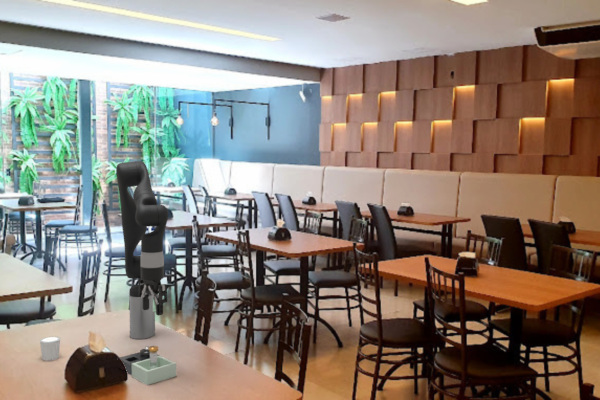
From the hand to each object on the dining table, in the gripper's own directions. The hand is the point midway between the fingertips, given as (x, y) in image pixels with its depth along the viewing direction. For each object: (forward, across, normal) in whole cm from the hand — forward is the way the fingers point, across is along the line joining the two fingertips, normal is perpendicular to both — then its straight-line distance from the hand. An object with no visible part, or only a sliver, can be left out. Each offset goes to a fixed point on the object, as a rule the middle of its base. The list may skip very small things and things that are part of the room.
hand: (152, 312), depth 192 cm
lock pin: (+21, -1, 0) cm, 21 cm away
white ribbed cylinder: (+22, +40, +18) cm, 49 cm away
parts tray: (+22, -1, 0) cm, 22 cm away
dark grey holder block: (+22, +10, -1) cm, 24 cm away
